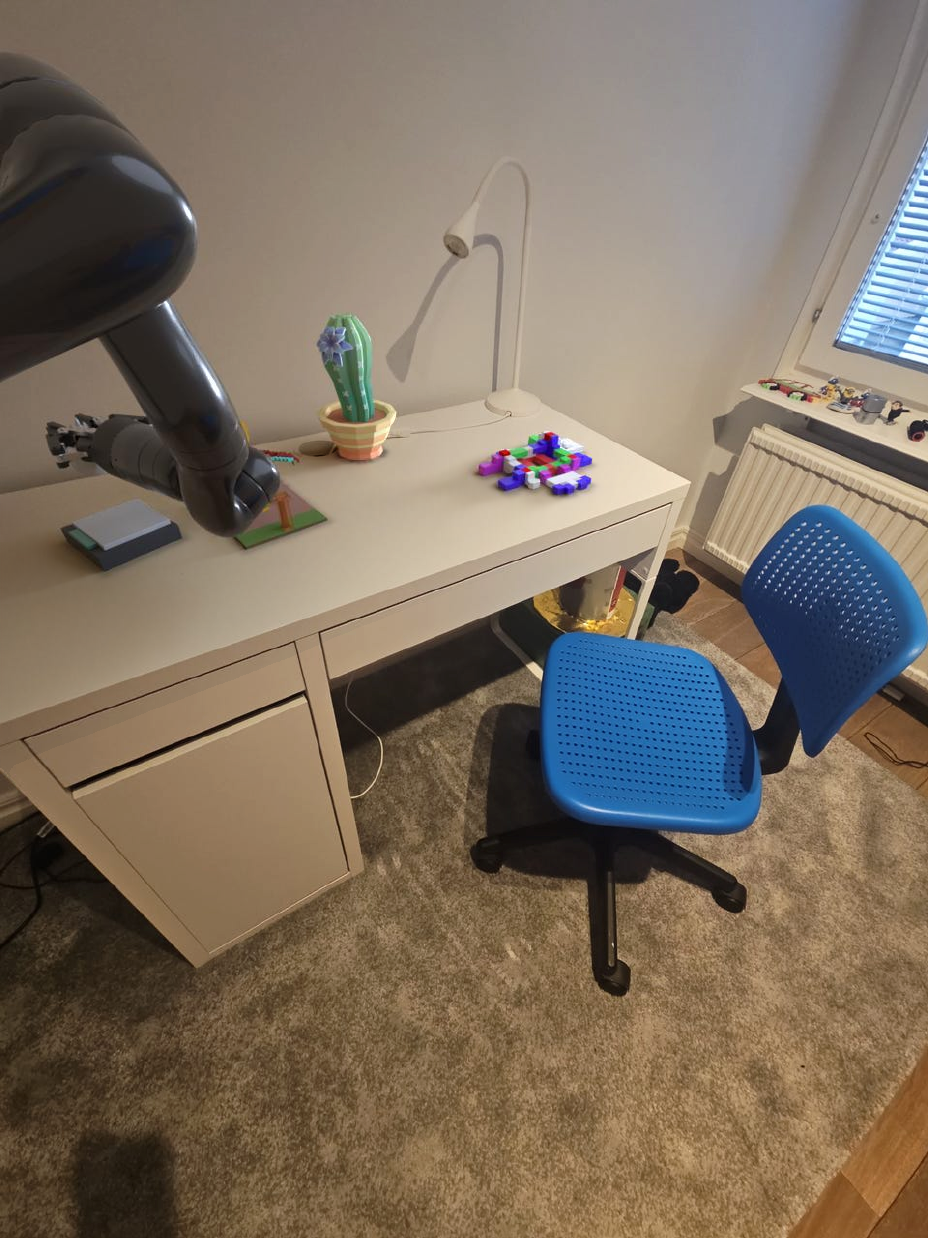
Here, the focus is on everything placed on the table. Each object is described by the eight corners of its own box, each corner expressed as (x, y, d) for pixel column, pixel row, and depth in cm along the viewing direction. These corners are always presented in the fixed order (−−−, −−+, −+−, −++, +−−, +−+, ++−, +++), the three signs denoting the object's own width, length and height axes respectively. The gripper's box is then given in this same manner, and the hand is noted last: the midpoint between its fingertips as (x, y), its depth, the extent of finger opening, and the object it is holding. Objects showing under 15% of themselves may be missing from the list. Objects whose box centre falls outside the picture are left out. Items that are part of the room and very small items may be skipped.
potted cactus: (309, 446, 112) (287, 310, 96) (375, 430, 119) (364, 302, 103) (344, 474, 103) (326, 329, 87) (412, 455, 110) (407, 318, 94)
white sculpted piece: (83, 485, 73) (56, 426, 68) (70, 469, 76) (43, 412, 71) (126, 474, 76) (103, 417, 71) (111, 460, 79) (88, 404, 74)
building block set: (529, 507, 96) (532, 483, 93) (464, 463, 108) (465, 441, 105) (626, 474, 107) (631, 452, 104) (557, 438, 119) (560, 418, 116)
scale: (104, 571, 77) (95, 553, 75) (67, 541, 83) (57, 523, 81) (182, 537, 85) (176, 520, 83) (143, 512, 90) (136, 494, 88)
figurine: (277, 480, 100) (261, 401, 91) (327, 520, 90) (314, 435, 80) (201, 503, 93) (175, 419, 83) (246, 549, 83) (221, 459, 73)
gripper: (183, 408, 69) (104, 383, 75) (73, 445, 59) (-6, 412, 66) (201, 464, 73) (125, 435, 80) (101, 505, 64) (25, 469, 71)
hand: (66, 425), depth 73 cm, fingers closed on white sculpted piece, 3 cm apart
